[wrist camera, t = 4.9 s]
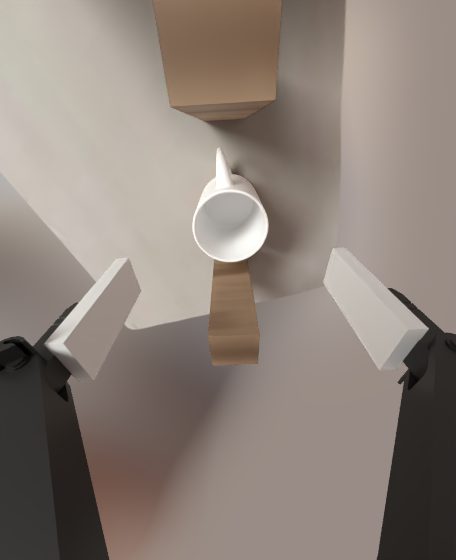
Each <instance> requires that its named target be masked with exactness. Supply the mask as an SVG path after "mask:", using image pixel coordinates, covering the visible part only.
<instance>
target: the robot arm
mask: <svg viewBox="0 0 456 560" xmlns="http://www.w3.org/2000/svg"><path fill="white" fill-rule="evenodd" d="M323 283H324V285H325V287H326V288H327V289H328V291H329V293H330V294H331V296H332V297H333V299H334V300H335V302H336V304H337V305H338V307H339V308H340V310H341V311H342V313H343V314H344V316H345V318H346V319H347V320H348V322H349V323H350V325H351V327H352V328H353V330H354V331H355V333H356V335H357V336H358V337H359V339H360V341H361V342H362V344H363V345H364V347H365V348H366V350H367V352H368V353H369V355H370V356H371V358H372V359H373V361H374V362H375V364H376V365H377V367H378V369H379V370H397V369H398V367H399V366H400V365H401V364H402V362H404V363H405V365H406V366H407V367H408V368H409V369H408V370H407V371H406V372H405V374H404V375H403V376H402V377H401V378H400V380H399V381H398V383H399V384H401V383H402V382H403V381H404V385H403V392H402V399H401V405H400V412H399V418H398V426H397V432H396V438H395V445H394V452H393V458H392V465H391V471H390V478H389V485H388V491H387V498H386V504H385V511H384V518H383V525H382V531H381V537H380V544H379V551H378V556H377V560H456V334H452V333H444V332H443V331H442V330H441V329H440V328H439V327H438V326H437V325H436V324H434V323H433V322H432V321H431V320H430V319H429V318H428V317H427V316H426V315H425V314H424V313H423V312H421V311H420V310H419V309H417V307H416V306H415V305H414V304H413V303H411V302H410V301H409V300H408V299H407V298H406V297H405V296H404V295H403V294H401V293H399V292H397V291H396V290H394V289H392V288H386V287H385V286H384V285H383V284H382V283H381V282H380V281H379V280H378V279H377V278H376V277H375V276H374V275H373V274H372V273H371V272H370V271H368V269H367V268H366V267H365V266H363V265H362V264H361V263H360V262H359V261H358V260H357V259H356V258H355V257H354V256H353V255H352V254H351V253H350V252H349V251H348V250H347V249H346V248H333V249H332V252H331V256H330V259H329V263H328V267H327V270H326V274H325V277H324V281H323ZM140 292H141V289H140V286H139V284H138V281H137V279H136V276H135V273H134V271H133V268H132V265H131V263H130V260H129V258H117V259H116V260H115V261H114V262H113V264H112V265H111V266H110V267H109V268H108V269H107V271H106V272H105V273H104V274H103V275H102V276H101V278H100V279H99V280H98V281H97V282H96V283H95V285H94V286H93V287H92V288H91V289H90V290H89V292H88V293H87V294H86V295H85V296H84V297H83V299H82V300H81V301H80V302H79V303H75V304H73V305H72V306H70V307H69V308H68V309H66V310H65V311H64V312H63V314H62V315H61V316H60V317H59V319H57V320H56V321H55V323H54V325H52V326H51V327H50V328H49V329H48V330H47V332H46V333H45V334H44V335H43V336H42V337H41V338H40V339H39V340H38V342H37V343H36V344H35V345H34V346H33V347H32V346H31V345H30V344H29V343H28V342H27V341H26V340H25V339H24V338H23V337H20V336H16V337H10V338H7V339H4V340H2V341H0V560H109V556H108V552H107V548H106V543H105V539H104V535H103V530H102V525H101V521H100V517H99V512H98V508H97V503H96V499H95V495H94V490H93V486H92V481H91V477H90V472H89V468H88V464H87V459H86V455H85V450H84V446H83V442H82V437H81V432H80V429H79V424H78V419H77V415H76V410H75V406H74V402H73V397H72V393H71V388H70V385H69V384H68V382H67V380H68V379H69V377H70V375H72V376H73V377H74V378H75V379H76V380H77V381H94V379H95V377H96V375H97V373H98V372H99V370H100V368H101V366H102V364H103V362H104V360H105V358H106V356H107V355H108V353H109V351H110V349H111V347H112V345H113V343H114V341H115V339H116V337H117V336H118V334H119V332H120V330H121V328H122V326H123V324H124V322H125V321H126V319H127V317H128V315H129V313H130V311H131V309H132V307H133V305H134V303H135V302H136V300H137V298H138V296H139V294H140Z"/></svg>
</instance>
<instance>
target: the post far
mask: <svg viewBox="0 0 456 560" xmlns="http://www.w3.org/2000/svg"><path fill="white" fill-rule="evenodd" d="M259 339H260V333H259V328H258V321H257V315H256V309H255V303H254V297H253V291H252V285H251V279H250V274H249V268H248V262H247V259H244V260H241V261H237V262H223V261H219V260H216V259H214V270H213V282H212V293H211V305H210V317H209V329H208V340H209V346H210V352H211V358H212V364H213V365H239V364H258V353H259Z"/></svg>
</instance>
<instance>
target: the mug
mask: <svg viewBox="0 0 456 560" xmlns="http://www.w3.org/2000/svg"><path fill="white" fill-rule="evenodd" d="M193 234H194V238H195V240H196V242H197V244H198V246H199V247H200V248H201V249H202V251H203V252H205V253H206V254H207V255H208V256H210V257H212V258H213V259H216V260H219V261H223V262H237V261H241V260H244V259H247V258H249V257H250V256H252V255H253V254H255V253H256V252H257V251H258V250H259V249H260V248H261V246H262V245H263V243H264V242H265V239H266V237H267V234H268V217H267V214H266V211H265V209H264V207H263V205H262V203H261V201H260V199H259V197H258V195H257V193H256V191H255V189H254V187H253V186H252V185H251V183H250V182H249V181H248V180H246V179H245V178H244V177H242V176H239V175H236V174H232V172H231V170H230V167H229V165H228V162H227V160H226V157H225V155H224V153H223V151H222V149H221V147H218V149H217V155H216V177H215V178H214V179H212V180H211V181H210V182H209V183H208V184H207V186H206V187H205V189H204V191H203V193H202V195H201V198H200V201H199V204H198V206H197V209H196V212H195V215H194V218H193Z"/></svg>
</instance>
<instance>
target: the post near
mask: <svg viewBox="0 0 456 560" xmlns="http://www.w3.org/2000/svg"><path fill="white" fill-rule="evenodd" d="M153 6H154V12H155V18H156V24H157V30H158V36H159V42H160V48H161V54H162V60H163V66H164V72H165V78H166V84H167V90H168V97H169V103H170V107H172V108H174V109H177V110H179V111H181V112H184V113H186V114H189V115H191V116H193V117H196V118H198V119H200V120H203V121H217V120H233V119H245V118H246V117H248V116H250V115H251V114H253V113H255V112H256V111H258V110H260V109H261V108H263V107H265V106H266V105H268V104H270V103H271V102H273V101H275V99H276V84H277V69H278V54H279V39H280V24H281V8H282V0H153Z"/></svg>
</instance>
